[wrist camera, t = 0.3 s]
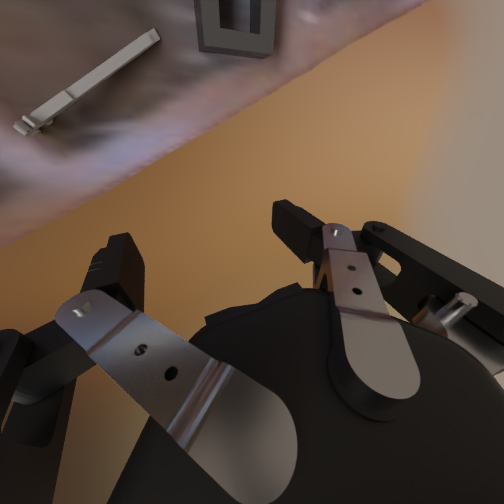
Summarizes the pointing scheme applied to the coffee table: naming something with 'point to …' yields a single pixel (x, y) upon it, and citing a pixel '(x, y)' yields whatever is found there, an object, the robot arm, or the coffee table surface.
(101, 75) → the caliper
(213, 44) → the panel
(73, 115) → the coffee table surface
